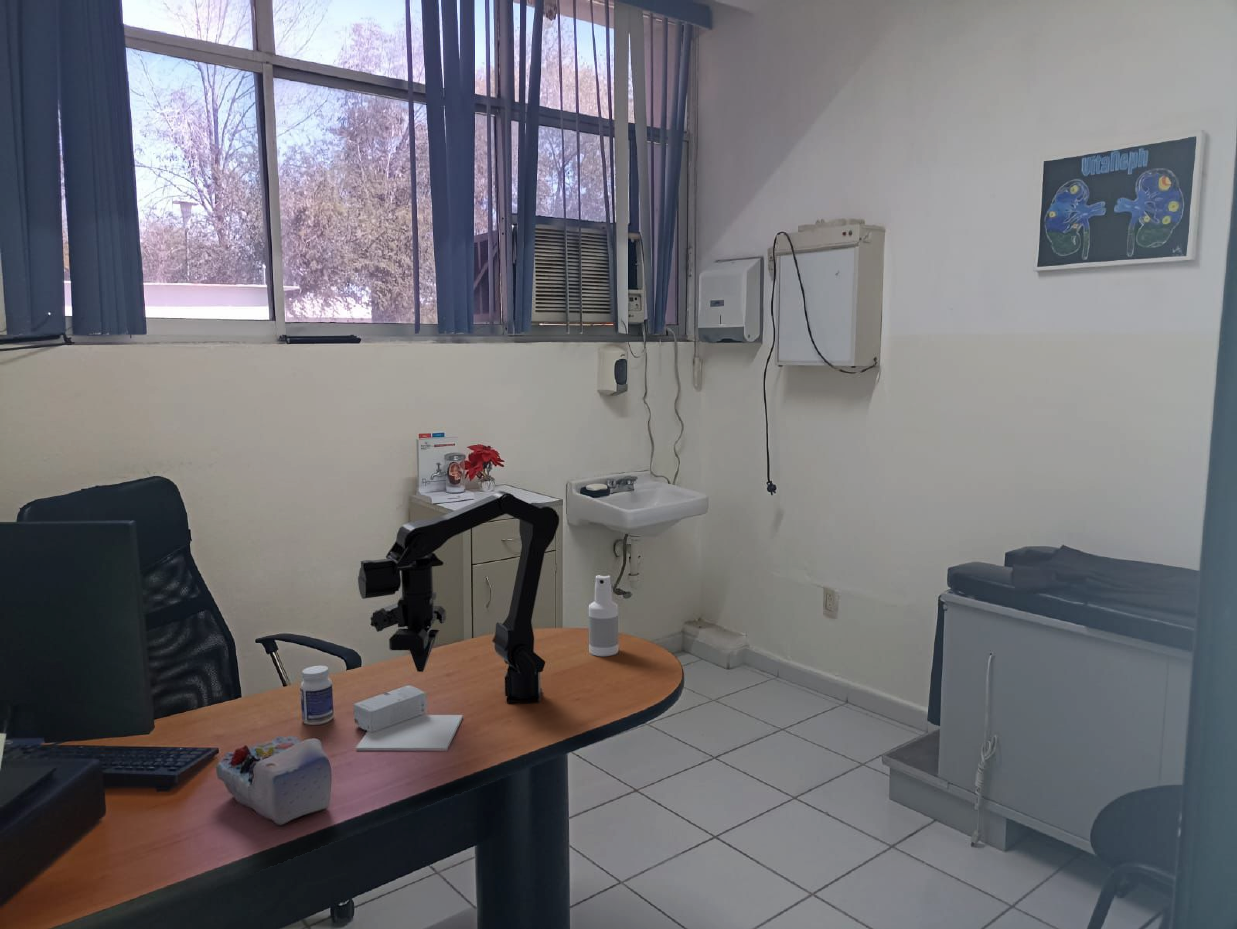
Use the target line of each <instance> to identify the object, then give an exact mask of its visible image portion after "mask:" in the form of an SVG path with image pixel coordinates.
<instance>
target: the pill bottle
mask: <svg viewBox="0 0 1237 929" xmlns="http://www.w3.org/2000/svg"><path fill="white" fill-rule="evenodd" d="M301 674H302V676H301V677H302V679H303V681H302V682H301V684H300V686H299V688H300V705H301V706H300V707H301V708H300V709H301V719H302V723H304V724H306V725H309V726H314V725H315V726H319V725H323V724H326V723H329V722H331V720H332V719H333V718H334V716H335V715H334V698H333V697H334V696H333V695H334V694H333V682H332V679H331V678H329V677H328V675H329V674H330V672H329V667H328V666H326V665H315V666H309V667H306V668H304V669H303V670H302V673H301Z"/></svg>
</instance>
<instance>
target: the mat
mask: <svg viewBox="0 0 1237 929" xmlns="http://www.w3.org/2000/svg"><path fill="white" fill-rule="evenodd" d="M463 717H464V715H463V714H422V715H419V716H416V717H414V718H411V719H408V720H406V721H403V722H400V723H397V724H394V725H392V726H389V727H386V728H384V729H381V730H378V731H376V732H373V733H371V732H369V731H366V733H365V734H364V736H362V739H361V740H360V741H359V742H358V744H357V745H356V747H355V751H390V752H391V751H399V752H400V751H404V752H405V751H407V752H408V751H410V752H411V751H416V752H417V751H421V752H422V751H423V752H424V751H426V752H427V751H429V752H430V751H432V752H433V751H435V752H436V751H437V752H438V751H439V752H440V751H441V752H442V751H445V752H446V751H448V748H449V747H450V744H451V742H452V741H453V738H454V736H455V734H456V732H457V731H458V728H459V725H460V724H461V722H462V720H463Z"/></svg>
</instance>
